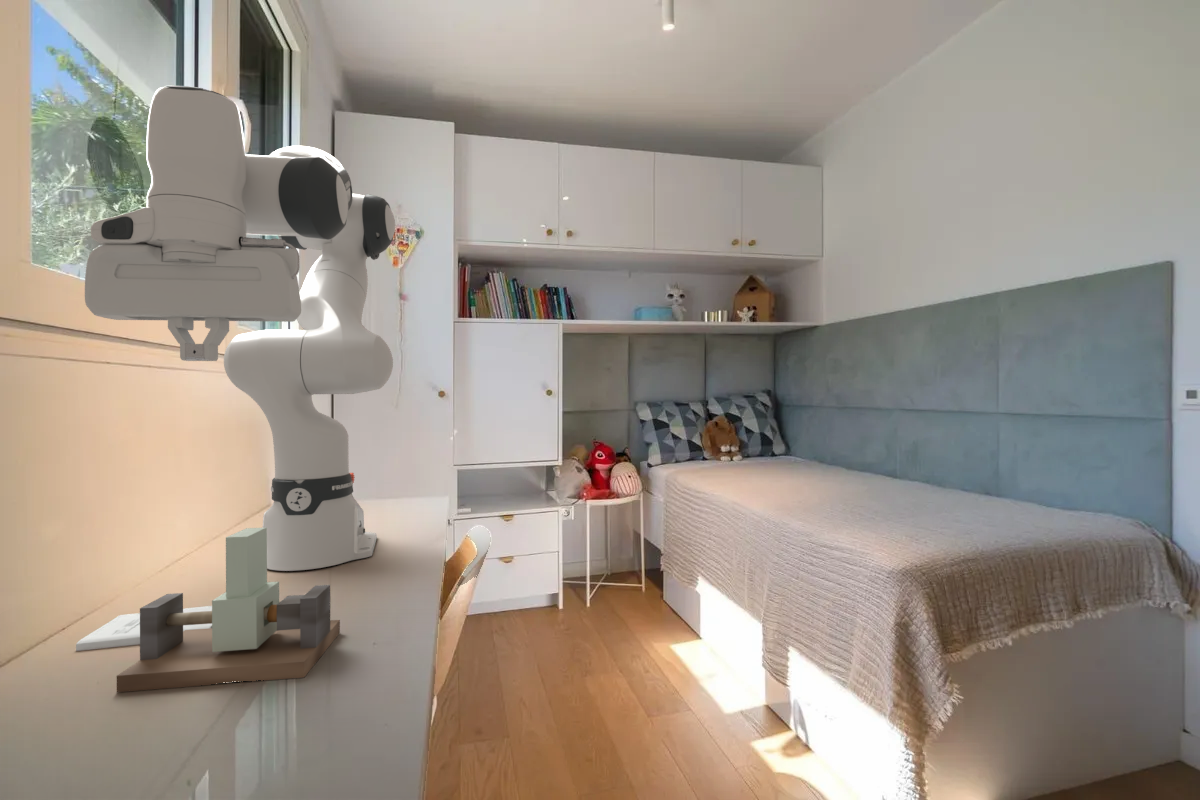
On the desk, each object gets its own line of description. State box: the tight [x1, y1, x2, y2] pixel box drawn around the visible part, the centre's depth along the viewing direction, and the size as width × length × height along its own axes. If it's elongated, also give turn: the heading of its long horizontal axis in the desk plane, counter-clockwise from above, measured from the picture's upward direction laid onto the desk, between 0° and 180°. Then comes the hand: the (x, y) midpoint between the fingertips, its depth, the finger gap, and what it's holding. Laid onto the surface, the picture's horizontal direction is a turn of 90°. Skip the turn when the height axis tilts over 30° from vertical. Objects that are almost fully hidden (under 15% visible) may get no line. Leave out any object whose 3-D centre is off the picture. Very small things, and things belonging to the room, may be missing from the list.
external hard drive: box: [75, 605, 212, 652], centre depth 62 cm, size 2×8×12 cm
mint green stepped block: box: [211, 527, 280, 652], centre depth 55 cm, size 5×4×11 cm
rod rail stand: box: [116, 584, 341, 693], centre depth 55 cm, size 10×16×6 cm, turn 98°
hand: (199, 360), depth 59 cm, fingers closed
